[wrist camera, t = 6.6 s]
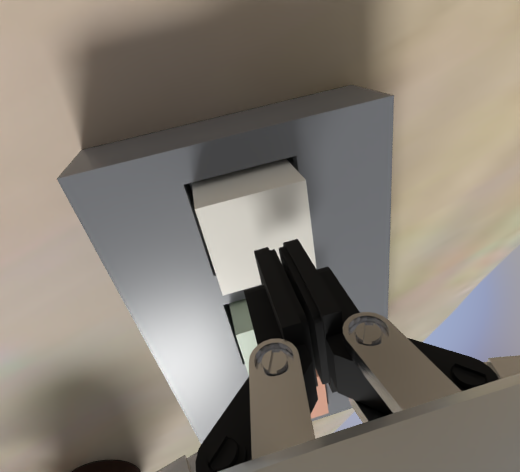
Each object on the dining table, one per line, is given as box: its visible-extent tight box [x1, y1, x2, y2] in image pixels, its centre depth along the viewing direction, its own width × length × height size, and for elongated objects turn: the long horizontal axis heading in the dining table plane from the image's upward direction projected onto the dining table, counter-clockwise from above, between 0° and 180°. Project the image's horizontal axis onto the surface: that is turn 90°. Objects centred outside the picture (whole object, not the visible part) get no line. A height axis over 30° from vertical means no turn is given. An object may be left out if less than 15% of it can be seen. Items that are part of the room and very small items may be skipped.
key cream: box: [192, 158, 316, 295], centre depth 15 cm, size 4×4×3 cm
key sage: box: [229, 299, 316, 374], centre depth 19 cm, size 4×4×3 cm
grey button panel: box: [57, 85, 394, 444], centre depth 21 cm, size 22×14×4 cm, turn 10°
